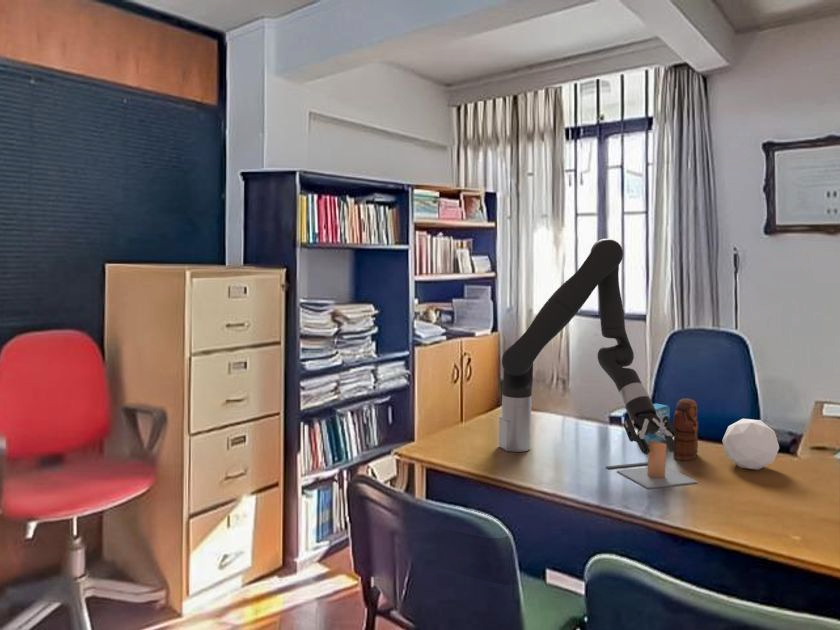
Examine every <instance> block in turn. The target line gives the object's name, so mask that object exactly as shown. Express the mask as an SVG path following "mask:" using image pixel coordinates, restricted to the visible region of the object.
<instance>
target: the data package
mask: <svg viewBox="0 0 840 630" xmlns="http://www.w3.org/2000/svg"><path fill="white" fill-rule="evenodd" d="M653 405H654V407H655V410H656V415H657V416H658V417H659V418H664V417H665V416H668V418H669V419H670V417H671V415H670V413H671V408H670V406H669V405H666V404H660V403H653ZM670 420H671V419H670ZM636 429H637V428H636ZM636 431H638V429H637V430H636ZM658 431H661V429H660V428H659V430H658ZM664 434H665V433H664ZM665 435H666V434H665ZM643 439H645V441H646V443H647V445H648V446H649V442H652V441H658V442H663V443H665V441H666V440H665V439H663V438H662V437H661V436H657V435H656V434H648V435H644V438H643Z"/></svg>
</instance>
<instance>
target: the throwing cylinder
mask: <svg viewBox="0 0 840 630" xmlns="http://www.w3.org/2000/svg"><path fill="white" fill-rule="evenodd" d="M648 447H649V449H650V452H649V453H648V454H647V455H648V457H647V458H648V459H647V462H648V465H647V467H648V474H647V475H648V476H649V477H652V478H657V479H662V478H665V466H666V463H667V444H666V442H658V441H652V442H649V445H648Z"/></svg>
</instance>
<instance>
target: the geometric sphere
mask: <svg viewBox="0 0 840 630" xmlns="http://www.w3.org/2000/svg"><path fill="white" fill-rule="evenodd" d="M726 428H727V429H726V431H725V433H724V435H723V438H722V440H721V441H722V445H723V448H724V452H725V456H726V457H727V458H728V459H729V460H731V461H732V463H734V464H735V465H737V466H738V467H739V468H741V469H749V470H757V471H758V470H761V469H762V468H765V467H767V466H768V465H770V464H772V463H774V460H775V458H776V456H777V454H778V452H779V450H780V445H779V442H778V438H777V435H776V432H775V430H773V429H772V428H771V427H769V426H768V425H767V424H766V423H764V422H763V421H762V420H761V419H751V418H741V419H739V420H738V421H735V422H734V423H732V424H730V425H728V426H727V427H726Z"/></svg>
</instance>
